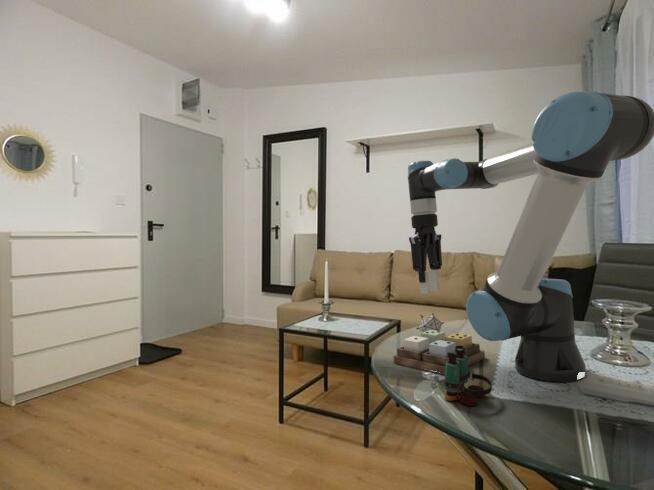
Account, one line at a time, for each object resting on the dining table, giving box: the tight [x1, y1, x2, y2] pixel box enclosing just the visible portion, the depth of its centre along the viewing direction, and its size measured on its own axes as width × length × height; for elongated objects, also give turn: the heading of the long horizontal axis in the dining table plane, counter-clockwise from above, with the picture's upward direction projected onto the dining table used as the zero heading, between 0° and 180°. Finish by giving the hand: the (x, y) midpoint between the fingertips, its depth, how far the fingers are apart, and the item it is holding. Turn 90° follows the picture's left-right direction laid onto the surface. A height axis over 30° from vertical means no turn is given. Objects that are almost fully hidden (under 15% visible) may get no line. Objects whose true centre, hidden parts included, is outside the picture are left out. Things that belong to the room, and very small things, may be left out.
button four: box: [445, 333, 473, 349], centre depth 108 cm, size 5×5×3 cm
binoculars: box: [443, 345, 493, 407], centre depth 83 cm, size 9×11×10 cm
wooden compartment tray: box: [392, 338, 486, 376], centre depth 109 cm, size 18×18×4 cm
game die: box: [416, 312, 445, 333], centre depth 134 cm, size 9×8×10 cm
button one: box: [402, 335, 429, 352], centre depth 109 cm, size 5×5×3 cm
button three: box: [420, 330, 446, 344], centre depth 115 cm, size 5×5×3 cm
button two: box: [429, 340, 456, 358], centre depth 103 cm, size 5×5×3 cm
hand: (429, 292), depth 115 cm, fingers open, 4 cm apart
